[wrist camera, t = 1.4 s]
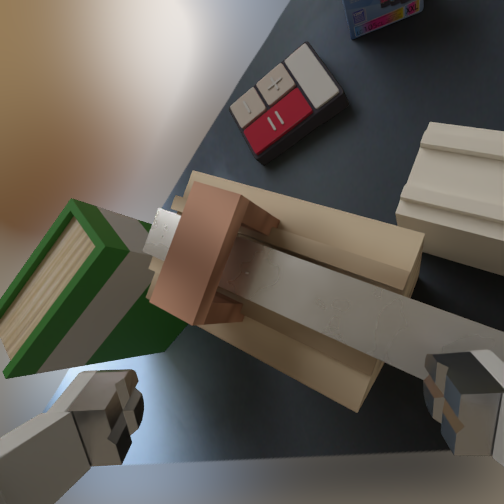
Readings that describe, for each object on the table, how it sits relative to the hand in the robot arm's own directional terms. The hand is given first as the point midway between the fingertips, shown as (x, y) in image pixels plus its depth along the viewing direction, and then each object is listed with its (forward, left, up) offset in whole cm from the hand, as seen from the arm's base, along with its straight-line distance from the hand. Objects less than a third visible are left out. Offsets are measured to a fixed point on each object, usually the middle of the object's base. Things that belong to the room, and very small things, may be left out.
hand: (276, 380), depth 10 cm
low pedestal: (-14, +6, -36) cm, 39 cm away
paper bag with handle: (-2, -6, -36) cm, 37 cm away
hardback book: (+8, -29, -36) cm, 47 cm away
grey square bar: (-2, -1, -10) cm, 10 cm away
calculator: (-25, -23, -37) cm, 50 cm away
